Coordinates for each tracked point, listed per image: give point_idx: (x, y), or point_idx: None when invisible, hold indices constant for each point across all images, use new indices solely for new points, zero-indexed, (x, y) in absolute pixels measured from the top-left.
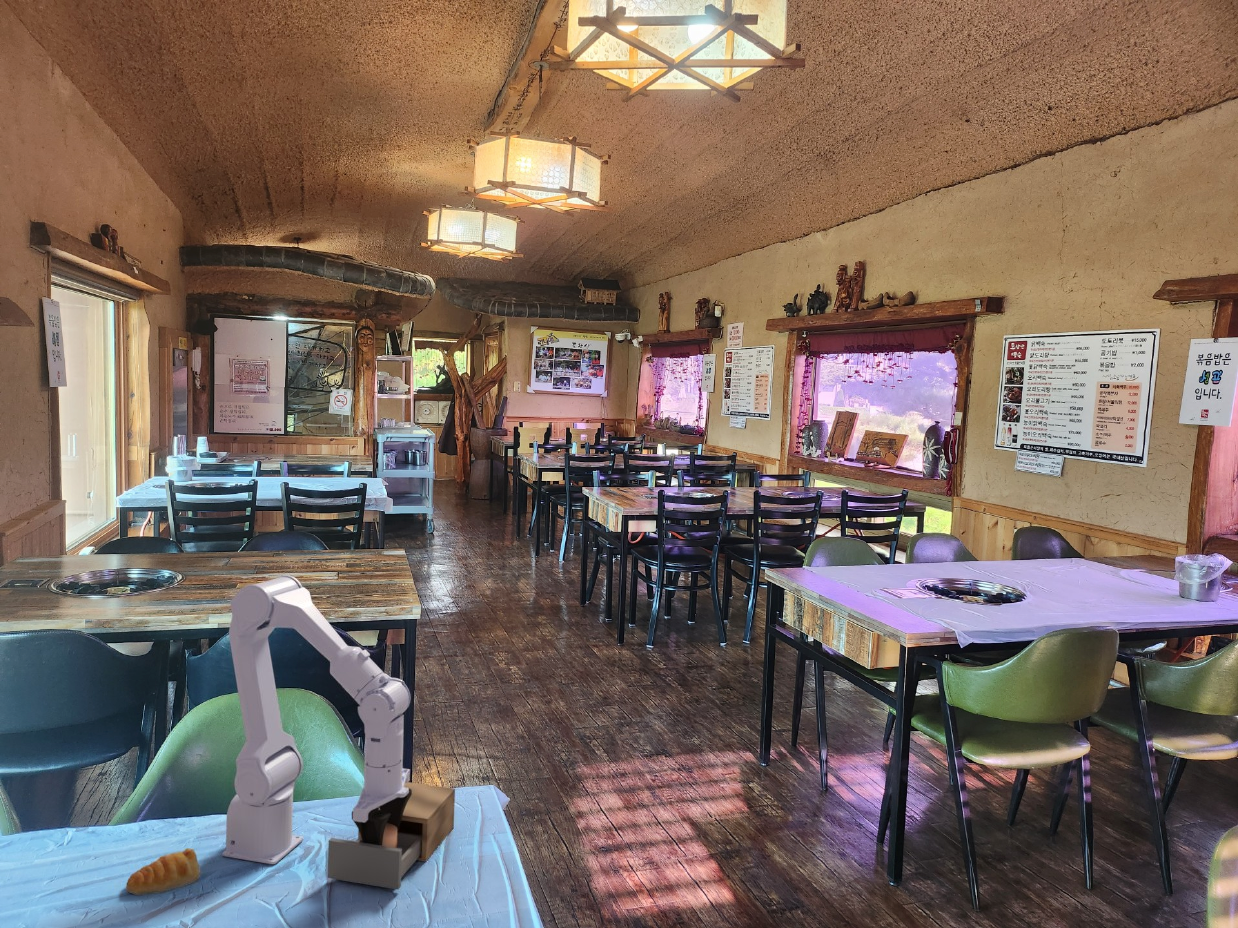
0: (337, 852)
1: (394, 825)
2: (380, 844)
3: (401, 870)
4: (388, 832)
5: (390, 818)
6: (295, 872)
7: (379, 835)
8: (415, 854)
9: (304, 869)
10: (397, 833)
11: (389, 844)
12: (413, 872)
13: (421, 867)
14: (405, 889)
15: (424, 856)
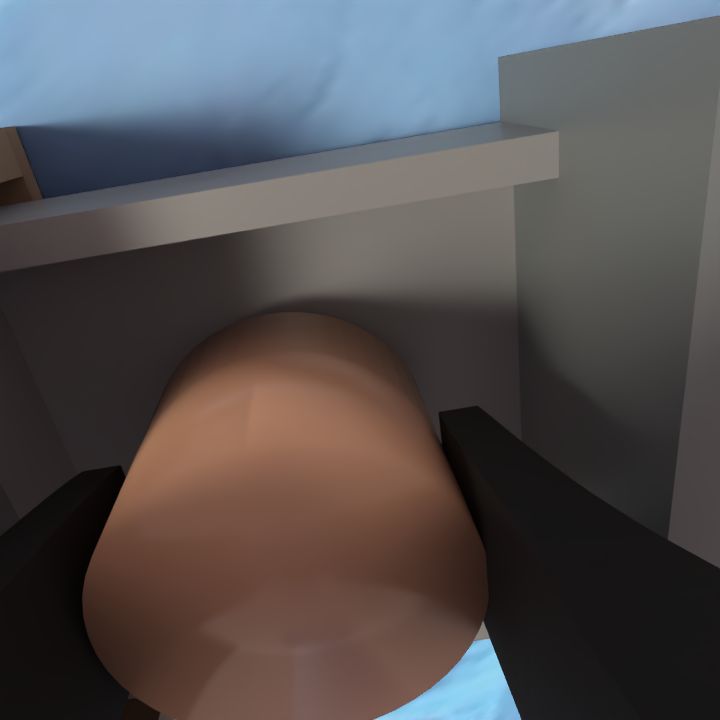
0: None
1: (87, 573)
2: (527, 454)
3: (388, 146)
4: (269, 534)
5: (51, 697)
6: (509, 691)
7: (675, 545)
8: (86, 196)
9: (473, 680)
10: (68, 482)
11: (362, 401)
12: (211, 128)
13: (112, 108)
14: (450, 33)
15: (2, 147)
